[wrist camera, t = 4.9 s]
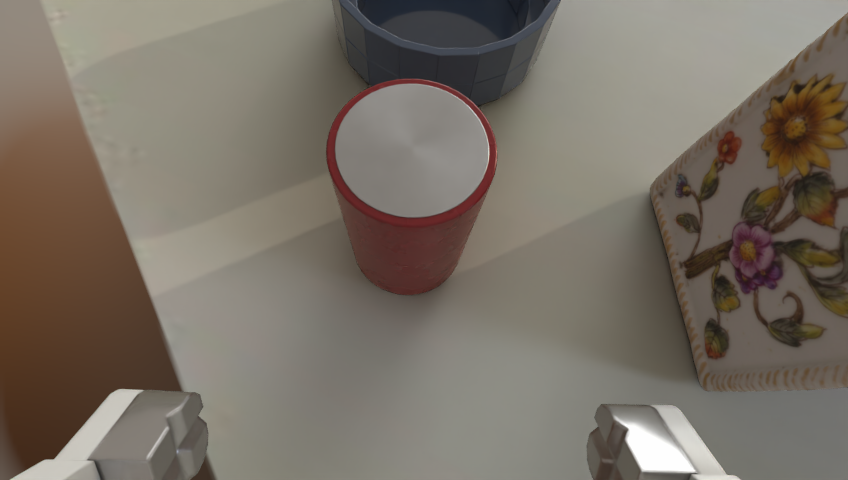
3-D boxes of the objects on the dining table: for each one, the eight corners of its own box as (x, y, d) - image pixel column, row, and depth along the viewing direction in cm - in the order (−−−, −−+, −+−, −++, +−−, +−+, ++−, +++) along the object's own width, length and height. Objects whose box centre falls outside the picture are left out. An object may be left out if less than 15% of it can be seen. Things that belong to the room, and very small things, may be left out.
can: (455, 191, 25) (487, 74, 16) (466, 291, 23) (509, 221, 14) (352, 196, 25) (325, 78, 16) (354, 298, 23) (325, 230, 14)
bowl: (521, -40, 32) (542, -116, 27) (553, 112, 27) (585, 52, 23) (338, -39, 31) (327, -118, 26) (340, 119, 26) (327, 57, 22)
